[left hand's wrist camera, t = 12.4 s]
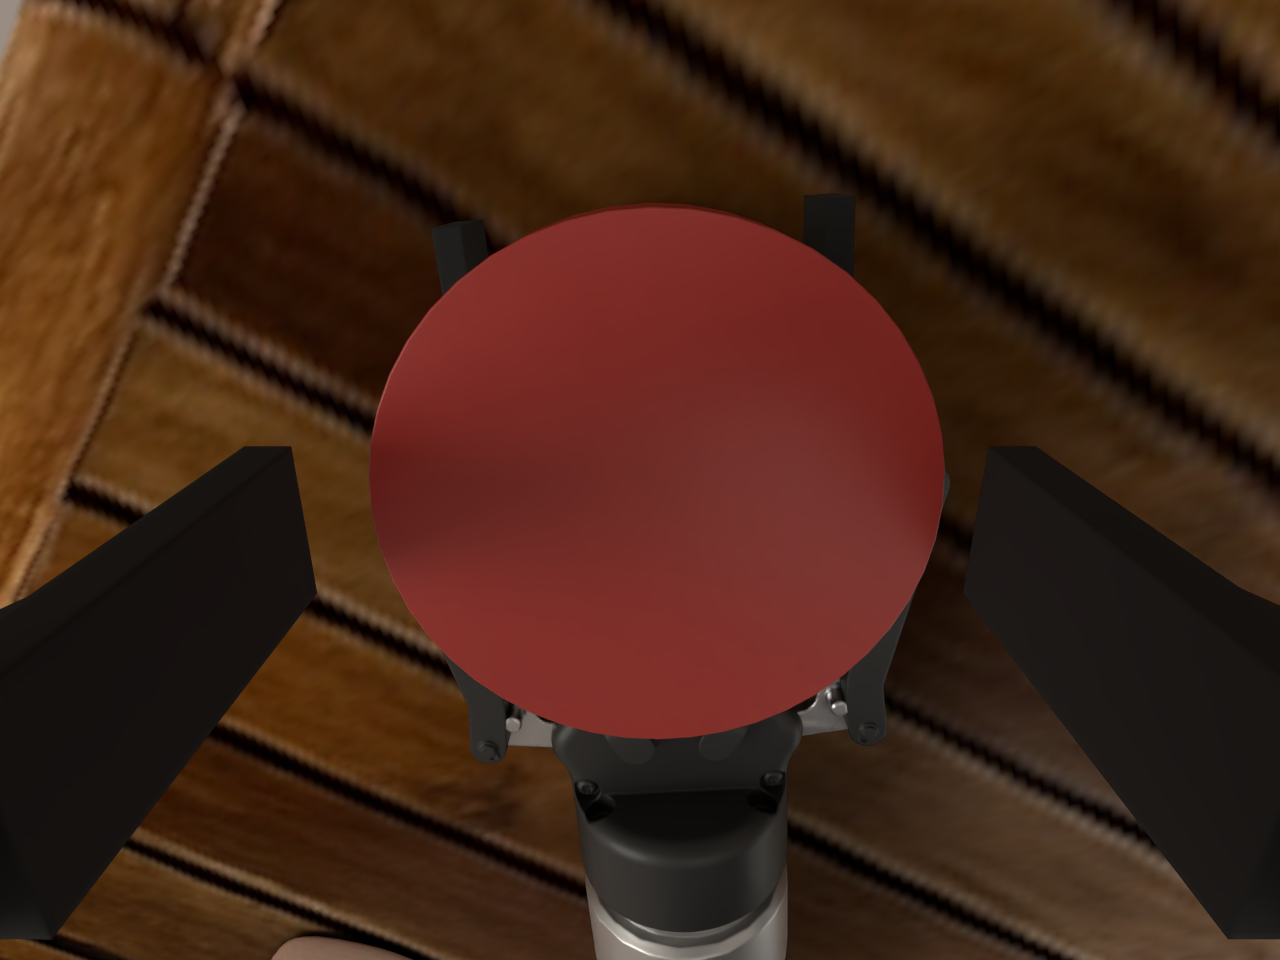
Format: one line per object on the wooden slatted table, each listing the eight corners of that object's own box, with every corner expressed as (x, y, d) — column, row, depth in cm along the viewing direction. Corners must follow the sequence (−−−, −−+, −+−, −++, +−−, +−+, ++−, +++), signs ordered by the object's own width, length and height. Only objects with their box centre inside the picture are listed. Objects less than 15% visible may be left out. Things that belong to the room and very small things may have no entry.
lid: (760, 80, 13) (777, 65, 11) (990, 549, 16) (1032, 595, 14) (292, 388, 15) (246, 416, 13) (579, 750, 18) (572, 811, 16)
